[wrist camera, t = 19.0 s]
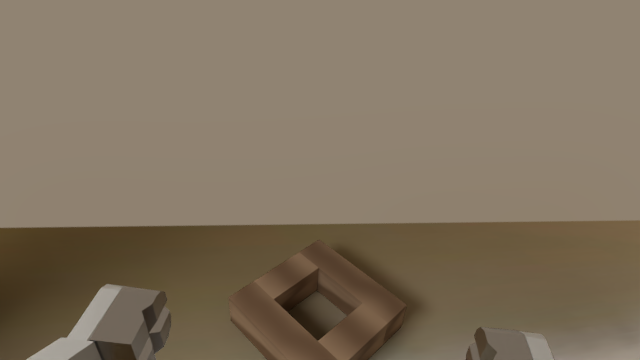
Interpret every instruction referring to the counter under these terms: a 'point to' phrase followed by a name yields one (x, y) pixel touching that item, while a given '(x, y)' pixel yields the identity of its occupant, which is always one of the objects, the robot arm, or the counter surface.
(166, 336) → the robot arm
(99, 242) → the counter surface
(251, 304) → the socket block
